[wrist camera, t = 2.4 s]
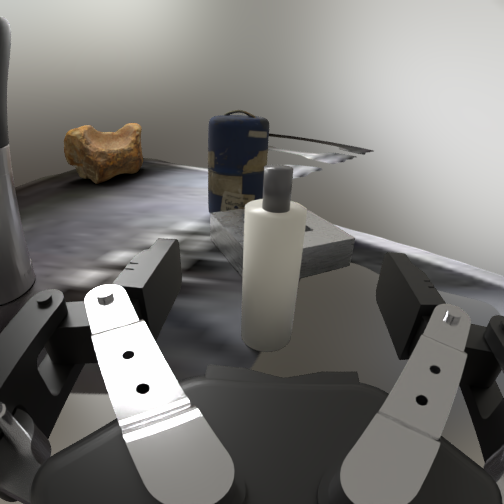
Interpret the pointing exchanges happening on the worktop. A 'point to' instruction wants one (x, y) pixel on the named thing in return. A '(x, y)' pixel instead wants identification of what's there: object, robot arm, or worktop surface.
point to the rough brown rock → (104, 152)
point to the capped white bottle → (271, 262)
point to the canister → (236, 160)
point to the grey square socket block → (314, 247)
